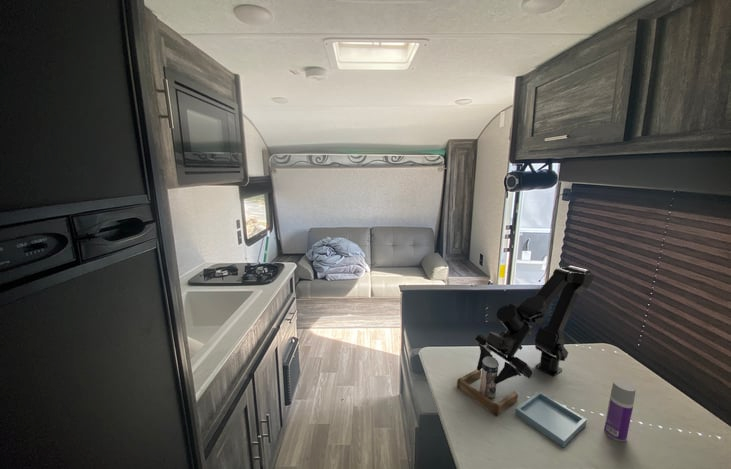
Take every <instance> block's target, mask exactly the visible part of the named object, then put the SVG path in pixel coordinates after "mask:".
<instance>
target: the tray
mask: <svg viewBox="0 0 731 469" xmlns="http://www.w3.org/2000/svg"><path fill="white" fill-rule="evenodd" d="M514 414H515V415H516V416H517V417H519V418H520V419H522V420H523V421H525V422H526V423H527V424H528V425H530V426H531V427H533V428H534V429H536V430H537V431H539V432H540V433H542V434H543V435H545V436H546V437H547V438H549V439H550V440H552V441H553V442H555V443H556V444H557V445H559V447H562V448H564V447H565V446H567V444H568V443H569V442H571V440H573V438H575V437H576V436H577V435H578V433H579V434H580V432H581V431H582V430H583V429H584V428H585V427H586V426H587V421H588V419H587V418H586V417H584V416H582V415H581V414H579V413H577V412H575V411H574V410H572V409H570V408H568V407H567V406H565V405H563V404H561V402H559V401H557V400H555V399H554V398H552V397H551V396H548V395H546V394H545V393H543V392H541V391H537V392H536V393H535V394H533V395H532V396H530V397H529V398H528V399H526V400H525V401H523V402H522V403H520V404H519V405H518V406H516V407H515V411H514Z"/></svg>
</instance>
